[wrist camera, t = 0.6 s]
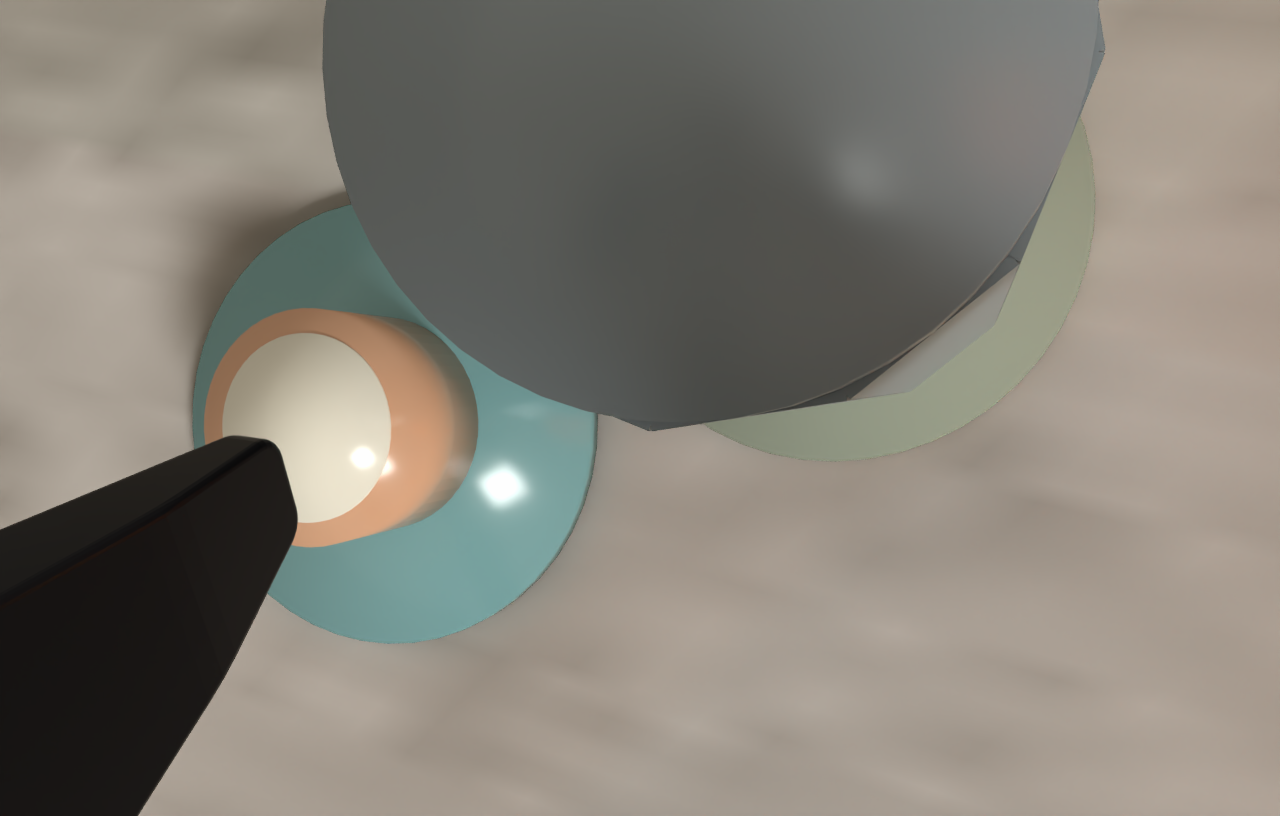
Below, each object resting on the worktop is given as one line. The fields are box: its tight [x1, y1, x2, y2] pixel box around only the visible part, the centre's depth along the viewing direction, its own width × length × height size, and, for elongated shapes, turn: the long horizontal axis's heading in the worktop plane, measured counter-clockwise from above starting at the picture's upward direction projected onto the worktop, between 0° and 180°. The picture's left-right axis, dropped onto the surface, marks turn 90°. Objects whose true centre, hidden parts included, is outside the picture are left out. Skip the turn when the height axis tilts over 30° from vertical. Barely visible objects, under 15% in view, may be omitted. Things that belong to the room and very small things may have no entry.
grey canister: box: [323, 0, 1105, 431], centre depth 17 cm, size 8×8×12 cm
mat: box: [704, 117, 1095, 462], centre depth 23 cm, size 10×10×1 cm
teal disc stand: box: [192, 205, 598, 644], centre depth 24 cm, size 10×10×4 cm
